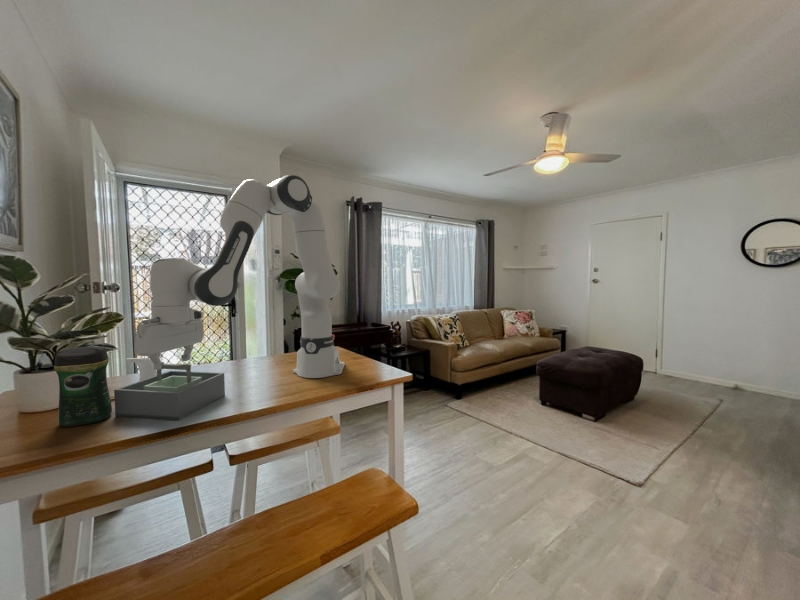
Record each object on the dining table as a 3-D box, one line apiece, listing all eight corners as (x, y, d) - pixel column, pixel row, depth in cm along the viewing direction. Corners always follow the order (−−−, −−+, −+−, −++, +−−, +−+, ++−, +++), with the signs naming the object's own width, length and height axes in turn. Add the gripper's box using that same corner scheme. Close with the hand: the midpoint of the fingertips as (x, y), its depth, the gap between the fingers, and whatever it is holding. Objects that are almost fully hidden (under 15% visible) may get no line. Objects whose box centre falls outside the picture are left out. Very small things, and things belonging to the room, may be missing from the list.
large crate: (171, 392, 104) (170, 370, 103) (224, 395, 101) (224, 373, 101) (115, 416, 86) (114, 389, 85) (178, 420, 84) (177, 393, 83)
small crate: (173, 395, 99) (171, 359, 98) (202, 397, 98) (201, 361, 97) (144, 407, 89) (142, 368, 89) (177, 409, 88) (175, 369, 88)
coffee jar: (115, 411, 89) (112, 342, 88) (105, 422, 82) (101, 348, 81) (67, 417, 85) (63, 345, 84) (52, 430, 78) (47, 352, 77)
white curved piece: (127, 398, 98) (125, 358, 98) (142, 391, 105) (141, 354, 104) (142, 398, 99) (141, 358, 98) (157, 391, 105) (155, 354, 104)
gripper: (148, 320, 81) (151, 375, 82) (207, 312, 102) (208, 356, 102) (125, 320, 82) (128, 374, 83) (188, 311, 102) (189, 355, 103)
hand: (173, 364), depth 93 cm, fingers open, 8 cm apart
